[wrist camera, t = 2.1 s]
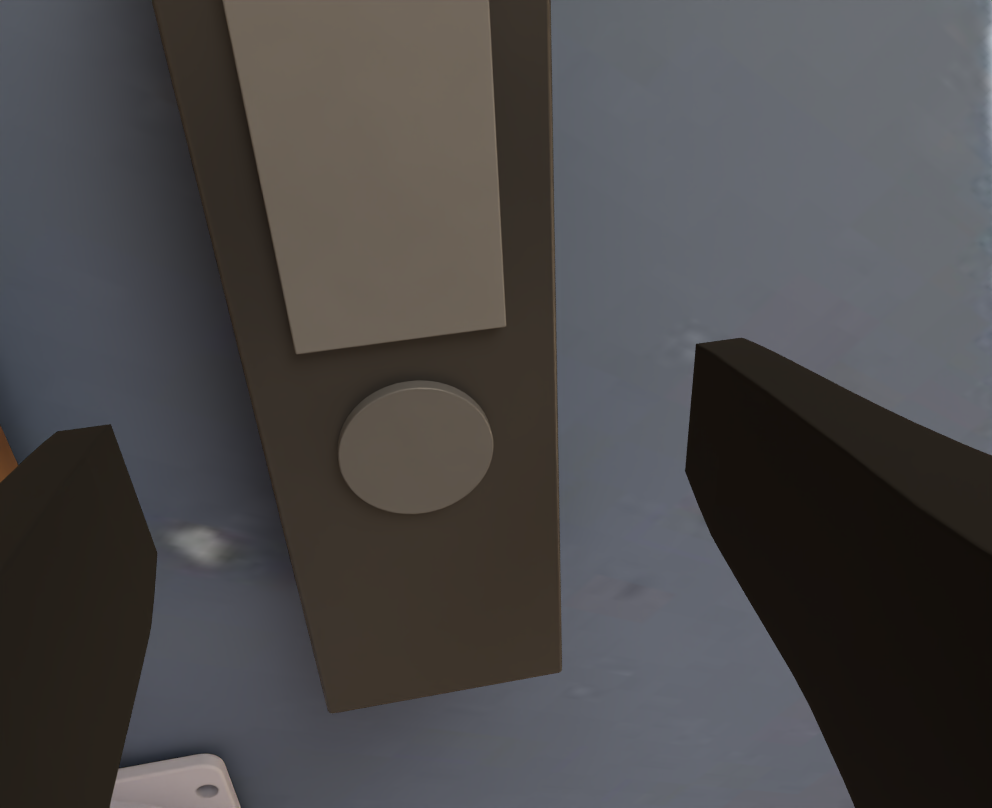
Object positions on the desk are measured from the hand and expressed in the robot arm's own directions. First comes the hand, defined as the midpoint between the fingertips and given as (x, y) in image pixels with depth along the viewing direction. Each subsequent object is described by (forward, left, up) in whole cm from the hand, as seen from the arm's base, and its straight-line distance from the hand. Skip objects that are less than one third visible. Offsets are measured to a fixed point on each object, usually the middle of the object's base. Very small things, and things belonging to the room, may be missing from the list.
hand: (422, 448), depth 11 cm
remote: (0, 0, -6) cm, 6 cm away
